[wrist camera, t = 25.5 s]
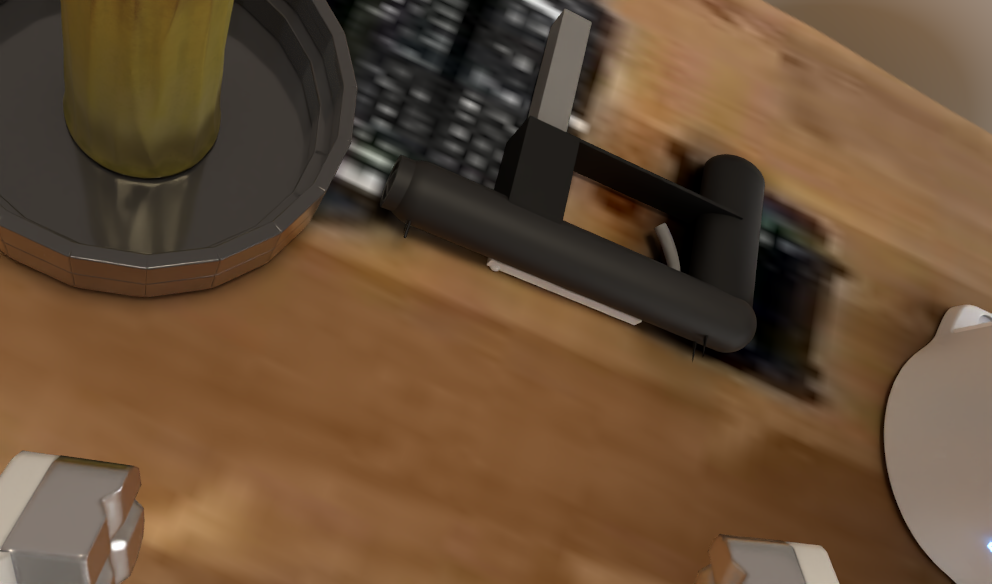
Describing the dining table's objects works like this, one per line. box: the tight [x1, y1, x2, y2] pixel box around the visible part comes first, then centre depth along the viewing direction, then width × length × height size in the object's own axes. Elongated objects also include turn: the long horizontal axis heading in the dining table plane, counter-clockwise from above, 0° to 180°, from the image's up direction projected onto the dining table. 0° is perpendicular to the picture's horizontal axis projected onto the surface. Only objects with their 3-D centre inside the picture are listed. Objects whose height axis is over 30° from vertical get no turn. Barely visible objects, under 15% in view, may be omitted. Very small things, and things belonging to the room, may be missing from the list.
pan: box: [0, 0, 357, 297], centre depth 35 cm, size 16×16×4 cm
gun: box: [380, 9, 765, 362], centre depth 44 cm, size 3×20×16 cm
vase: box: [60, 0, 234, 178], centre depth 30 cm, size 6×6×14 cm
